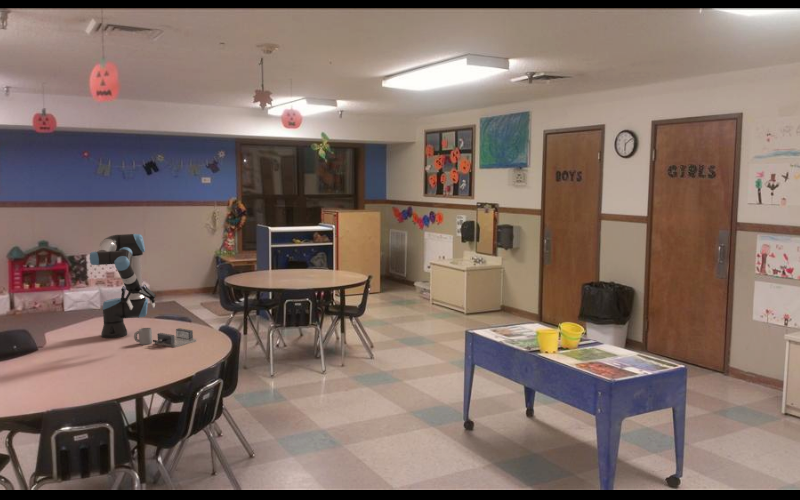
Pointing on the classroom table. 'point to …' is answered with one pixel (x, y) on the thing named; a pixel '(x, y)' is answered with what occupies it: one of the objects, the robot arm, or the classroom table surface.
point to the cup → (144, 336)
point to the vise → (175, 338)
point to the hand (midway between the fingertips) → (142, 307)
